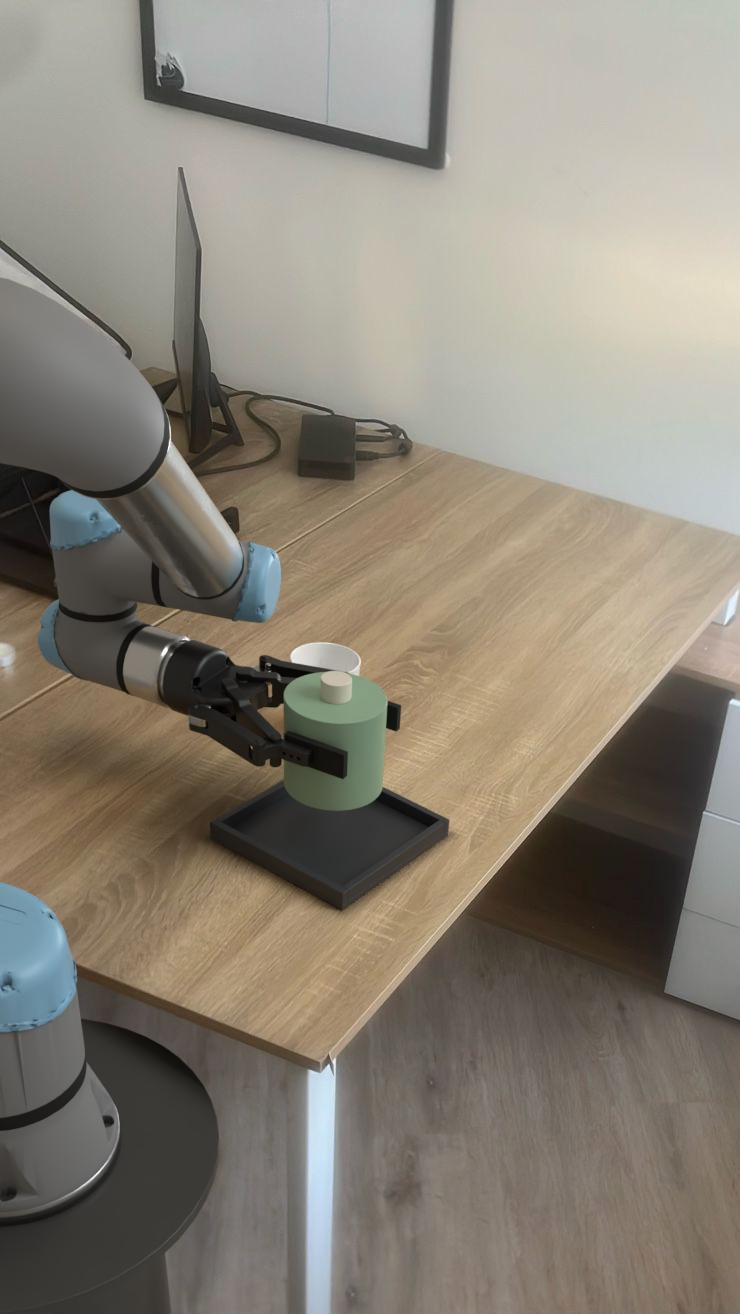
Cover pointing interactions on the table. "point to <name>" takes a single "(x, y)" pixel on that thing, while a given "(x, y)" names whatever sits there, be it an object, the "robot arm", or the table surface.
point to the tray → (330, 840)
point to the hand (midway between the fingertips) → (373, 741)
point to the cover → (337, 738)
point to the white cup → (327, 657)
